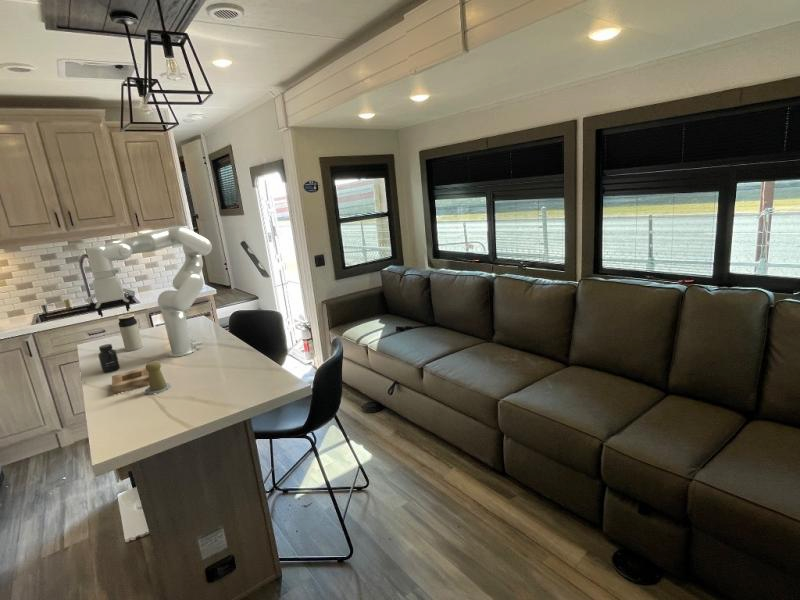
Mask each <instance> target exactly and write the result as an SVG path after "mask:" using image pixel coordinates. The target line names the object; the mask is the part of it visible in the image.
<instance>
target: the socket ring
mask: <svg viewBox="0 0 800 600" xmlns="http://www.w3.org/2000/svg"><path fill="white" fill-rule="evenodd" d="M148 385H149V386H150V384H149V373H148V371H147V370H146V366H145V367H142V368H139V369H134V370H131V371H130V370H129V371H127V372H126V371H125V372H121V373H118V374H114V375H111V389H112V392H113V395H114V394H116V395H119V394H118V393H120V394H122V393H121V392H124V393H127V392H131V391H134V390H133V389H135V390H138V389H141V388H145V386H146V387H149V386H148ZM137 388H138V389H137ZM130 390H131V391H130ZM126 391H127V392H126Z"/></svg>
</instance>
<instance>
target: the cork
mask: <svg viewBox="0 0 800 600" xmlns="http://www.w3.org/2000/svg"><path fill="white" fill-rule="evenodd" d="M145 367H146V370H147V371H148V373H149V384H150V385H149V387H150V391H158V390H162V389H164V388H165V387H167V385H166V383H167V382H166V381H165V377H164V376H163V373H162V370H161V367H162V365H161V363H160V361H158V360H154V361H150V362H147V363H146V364H145Z"/></svg>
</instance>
